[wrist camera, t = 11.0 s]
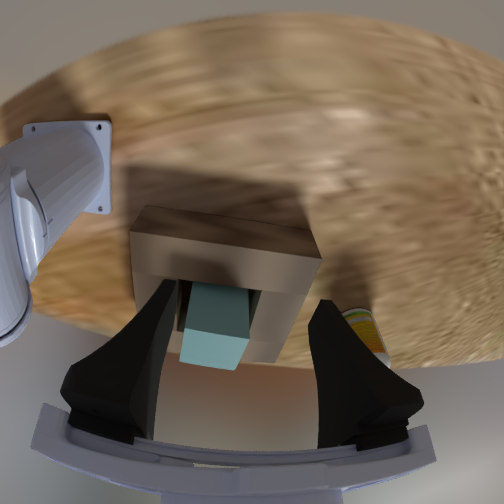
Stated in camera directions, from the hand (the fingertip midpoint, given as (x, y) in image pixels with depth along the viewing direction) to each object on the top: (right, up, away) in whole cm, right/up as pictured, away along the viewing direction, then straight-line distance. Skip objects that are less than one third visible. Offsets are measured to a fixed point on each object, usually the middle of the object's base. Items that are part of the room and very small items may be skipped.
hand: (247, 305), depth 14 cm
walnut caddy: (-3, 0, +13) cm, 13 cm away
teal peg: (-3, 0, +13) cm, 13 cm away
